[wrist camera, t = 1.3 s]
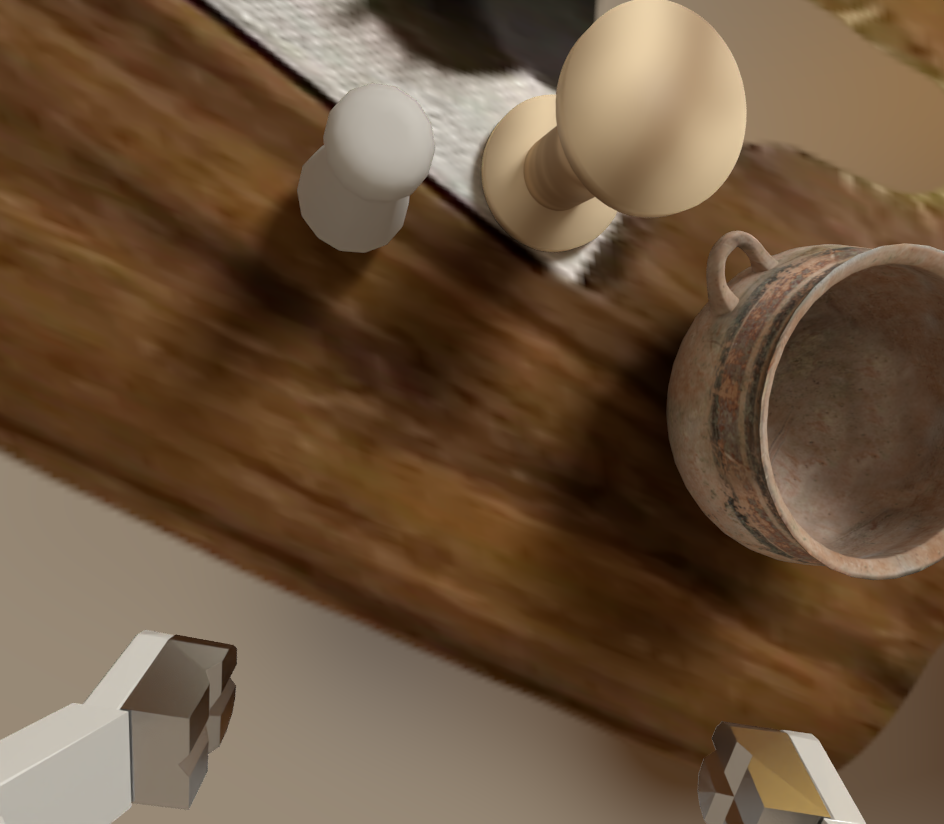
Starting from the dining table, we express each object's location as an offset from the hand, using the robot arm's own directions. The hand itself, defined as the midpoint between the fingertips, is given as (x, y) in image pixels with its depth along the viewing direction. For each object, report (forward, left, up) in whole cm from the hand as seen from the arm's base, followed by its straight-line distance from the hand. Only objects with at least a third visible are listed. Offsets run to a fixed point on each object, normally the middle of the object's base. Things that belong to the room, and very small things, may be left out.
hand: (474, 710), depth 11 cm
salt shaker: (-3, +14, -28) cm, 32 cm away
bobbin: (+8, +20, -28) cm, 35 cm away
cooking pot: (+26, +11, -28) cm, 40 cm away
